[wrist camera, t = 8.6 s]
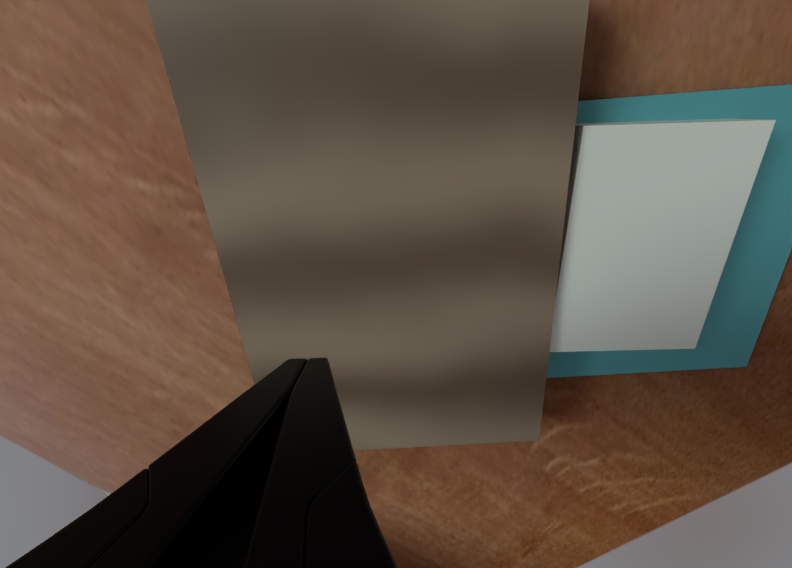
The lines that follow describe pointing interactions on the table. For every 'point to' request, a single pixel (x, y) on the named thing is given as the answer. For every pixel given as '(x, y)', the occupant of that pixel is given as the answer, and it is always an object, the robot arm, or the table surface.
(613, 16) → the table surface
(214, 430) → the robot arm
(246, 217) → the block
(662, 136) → the white rectangular block
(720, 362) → the teal mat
